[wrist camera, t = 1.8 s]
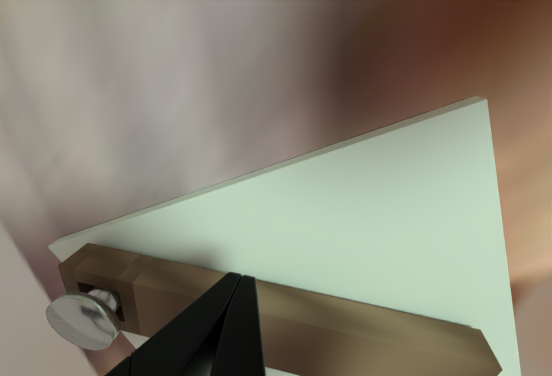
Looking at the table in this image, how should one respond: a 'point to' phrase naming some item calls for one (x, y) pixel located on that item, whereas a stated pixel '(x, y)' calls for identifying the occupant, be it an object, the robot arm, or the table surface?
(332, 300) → the link
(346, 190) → the base plate
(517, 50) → the table surface
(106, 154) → the table surface
